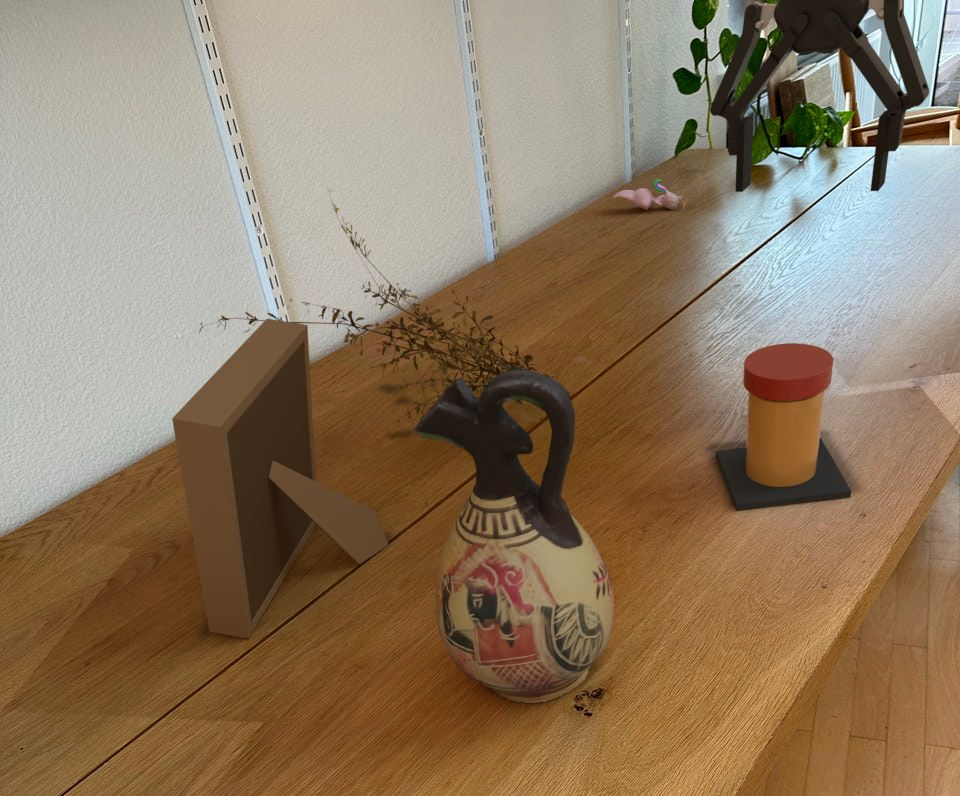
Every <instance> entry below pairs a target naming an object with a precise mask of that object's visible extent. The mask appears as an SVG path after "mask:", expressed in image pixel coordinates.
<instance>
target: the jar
mask: <svg viewBox="0 0 960 796" xmlns="http://www.w3.org/2000/svg"><path fill="white" fill-rule="evenodd" d="M824 398H825V390H824V391H823V392H821V393H819V394H817V395H814V396H811V397H808V398H804V399H798V400H771V399H765V398H761V397H758V396H755V395H753V394H751V393H750V392H748V394H747V416H746V417H747V418H746V419H747V420H746V439H745V440H746V442H745V443H746V445H745V447H746V463H745V471H746V474H747V476H748V477H749V478H750V479H751V480H753V481H755V482H757V483H759V484H762V485H766V486H772V487H789V486H795V485H798V484H802V483H804V482H806V481H808V480H809V479H811V478H812V477H813V476H814V475H815V473H816V469H817V459H818V449H819V439H820V438H821V429H822V428H821V427H822V417H823V407H824Z"/></svg>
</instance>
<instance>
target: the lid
mask: <svg viewBox="0 0 960 796" xmlns="http://www.w3.org/2000/svg"><path fill="white" fill-rule="evenodd" d="M743 361H744V362H743V379H742V381H743V383H742V384H743V387H744V389H745V390H746V391H747V392H748V393H749V392H750V393H751V394H753V395H755V396H758V397H761V398H765V399H771V400H798V399H804V398H808V397H811V396H814V395H817V394H819V393H821V392H823V391H824V392H825V391H826V390H827V389H828V388H829V387H830V385H831V383H832V377H833V370H834V369H833V368H834V357H833V355H832V353H830V352H829V351H828V350H827V349H825V348H823V347H820V346H817V345H813V344H808V343H798V342H797V343H795V342H793V343H791V342H789V343H778V344H772V345H768V346H764V347H760V348H758V349H756V350H755V351H752V352H751V353H749V354H748V355H747V356H746V358H745V359H744V360H743Z"/></svg>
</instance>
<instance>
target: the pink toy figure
mask: <svg viewBox="0 0 960 796" xmlns="http://www.w3.org/2000/svg"><path fill="white" fill-rule="evenodd" d="M662 181H663V180H662V179H655V180H654V181H653V189H654V190H655V191H656V192H663V193H664V194H663V195H659V196H657V197H654V195H653V193H652V191H651V190H650V189H648V188H646V187H641V188H637V189H636V190H632V189H623V190H620V191H618V192H617V193H615V194H614V195H613V196H612V197H611V199H612V200H614V199H616V198H617V199H618V198H623V199H625V200H628V201H630V202H631V203H633V205H634V206H635V207H636V208H641V209H642V210H644V211H648V210H649V209H650V208H652V205H653V204H655V205H656V206H657V207H659V208H662V207H664V208H666V209H668V210H672V211H673V210H676V209H677V208H678V207H679V205H680V203H682V209H683V210H685V207H686V206H687V203H688V196H684V195H683V194H681V195H677V194H675V193H674V192H670V191H668V189H667V188H666V187H665V186H663V185H662V184H660V183H661V182H662ZM682 199H684V200H682Z"/></svg>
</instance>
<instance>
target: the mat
mask: <svg viewBox="0 0 960 796" xmlns="http://www.w3.org/2000/svg"><path fill="white" fill-rule="evenodd" d="M715 457H716V461H717V463H718V465H719V468H720V471H721V473H722V476H723V478H724V481H725V484H726V487H727V489H728V492H729V495H730V497H731V501H732V503H733V505H734V508H735V510H736V511H737V512H738V511H746V510H753V509H762V508H770V507H780V506H787V505H797V504H804V503H814V502H823V501H830V500H839V499H847V498H851V497H852V489H851V488H850V486H849V484H848V483H847V481H846V479H845V477H844V476H843V474H842V472H841V470H840V469H839V467H838V464H837V463H836V461H835V460H834V458H833V456H832V455H831V453H830V451H829V450H828V448H827V446H826V445H825V443H824V441H823V439H822V437H820V439H819V449H818V459H817V469H816V473H815V475H814V476H813V477H812V478H811V479H809V480H808V481H806V482H804V483H802V484H798V485H795V486H789V487H772V486H766V485H762V484H759V483H757V482H755V481H753V480H751V479H750V478H749V477H748V476H747V474H746V471H745V463H746V446H744V447H736V448H727V449H719V450H715Z"/></svg>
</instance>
